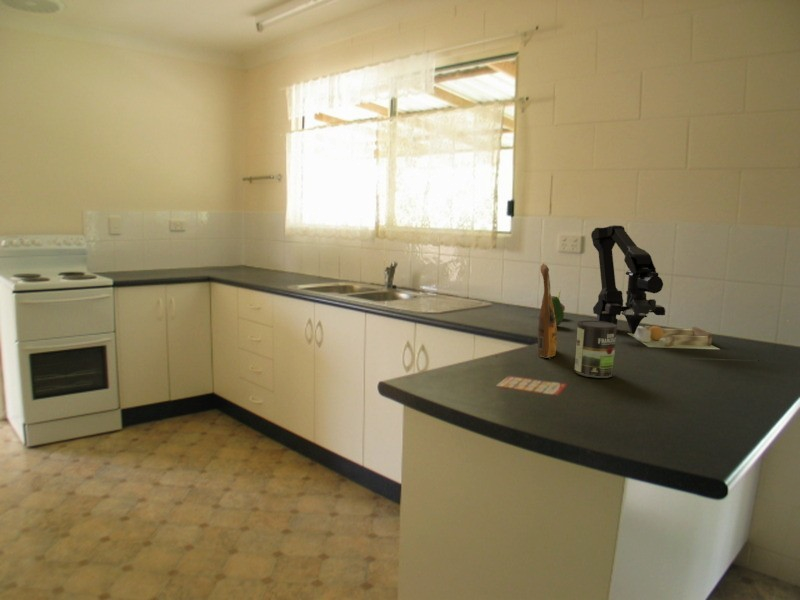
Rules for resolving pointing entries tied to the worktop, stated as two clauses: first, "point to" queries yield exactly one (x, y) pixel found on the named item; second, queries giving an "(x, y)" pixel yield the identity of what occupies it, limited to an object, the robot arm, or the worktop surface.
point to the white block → (642, 334)
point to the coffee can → (595, 347)
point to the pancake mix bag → (547, 320)
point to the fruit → (557, 310)
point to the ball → (656, 333)
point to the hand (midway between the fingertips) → (632, 333)
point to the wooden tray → (686, 337)
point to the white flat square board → (662, 344)
